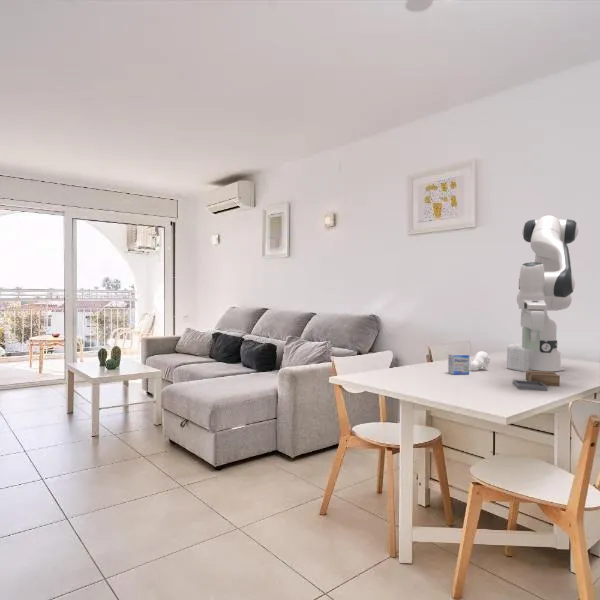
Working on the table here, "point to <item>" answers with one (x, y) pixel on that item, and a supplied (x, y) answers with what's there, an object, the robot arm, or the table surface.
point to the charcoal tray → (529, 385)
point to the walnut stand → (543, 377)
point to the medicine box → (458, 364)
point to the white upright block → (517, 357)
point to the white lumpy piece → (480, 361)
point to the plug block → (526, 340)
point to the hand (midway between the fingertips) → (530, 340)
